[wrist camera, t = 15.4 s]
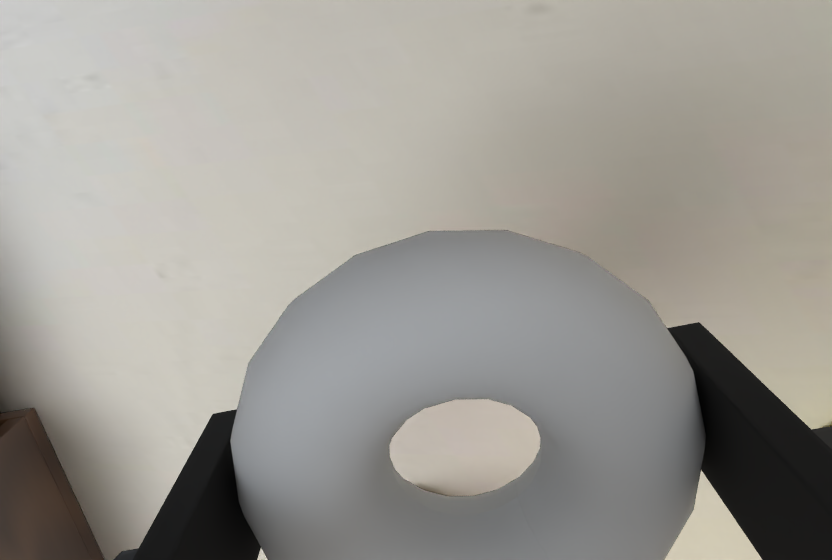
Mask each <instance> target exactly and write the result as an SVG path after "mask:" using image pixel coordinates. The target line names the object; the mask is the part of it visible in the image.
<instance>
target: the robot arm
mask: <svg viewBox="0 0 832 560" xmlns="http://www.w3.org/2000/svg"><path fill="white" fill-rule="evenodd" d="M667 329H668V331H669V332H670V334H671V335H672V337H673V338H674V340H675V341H676V343H677V344H678V346H679V347H680V349H681V350H682V352H683V353H684V355H685V356H686V358H687V360H688V362H689V364H690V366H691V368H692V370H693V372H694V377H695V382H696V387H697V392H698V397H699V402H700V407H701V412H702V417H703V422H704V427H705V432H706V439H705V450H704V455H703V461H702V466H701V470H702V471H703V473H704V474H705V476H706V477H707V479H708V480H709V482H710V483H711V485H712V486H713V488H714V489H715V490H716V492H717V493H718V495H719V496H720V498H721V499H722V501H723V502H724V504H725V505H726V507H727V508H728V510H729V511H730V512H731V514H732V515H733V517H734V518H735V520H736V521H737V523H738V524H739V526H740V527H741V529H742V530H743V532H744V533H745V534H746V536H747V537H748V539H749V540H750V542H751V543H752V545H753V546H754V548H755V549H756V551H757V552H758V554H759V555H760V556H761V558H762V559H763V560H832V426H830V427H824V428H818V429H812V430H811V429H810V428H809V427H808V426H807V425H806V424H805V423H804V422H803V421H802V420H801V419H800V418H799V417H797V416H796V415H795V414H794V413H793V412H792V411H791V410H790V409H789V408H788V407H787V406H786V405H785V404H784V403H783V402H782V401H781V400H780V399H779V398H778V397H777V396H776V395H775V394H773V393H772V392H771V391H770V390H769V389H768V388H767V387H766V386H765V385H764V384H763V383H762V382H761V381H760V380H759V379H758V378H757V377H756V376H755V375H754V374H753V373H752V372H751V371H750V370H748V369H747V368H746V367H745V366H744V365H743V364H742V363H741V362H740V361H739V360H738V359H737V358H736V357H735V356H734V355H733V354H732V353H731V352H730V351H729V350H728V349H727V348H726V347H724V346H723V345H722V344H721V343H720V342H719V341H718V340H717V339H716V338H715V337H714V336H713V335H712V334H711V333H710V332H709V331H708V330H707V329H706V328H705V327H704V326H703V325H702V324H700V323H699V322H698V323H693V324H687V325H682V326H677V327H671V328H667ZM236 412H237V410H231V411H226V412H221V413H216V414H213V415H212V416H211V418H210V420H209V422H208V424H207V425H206V427H205V429H204V431H203V433H202V435H201V436H200V438H199V440H198V442H197V444H196V445H195V447H194V449H193V451H192V453H191V455H190V456H189V458H188V460H187V462H186V464H185V465H184V467H183V469H182V471H181V473H180V474H179V476H178V478H177V480H176V482H175V484H174V485H173V487H172V489H171V491H170V493H169V494H168V496H167V498H166V500H165V502H164V504H163V505H162V507H161V509H160V511H159V513H158V514H157V516H156V518H155V520H154V522H153V523H152V525H151V527H150V529H149V531H148V533H147V534H146V536H145V538H144V540H143V542H142V543H141V545H140V547H139V548H138V549H133V550H127V551H122V552H121V553H120V554H119V555H118V556H117V557H116V558H115V559H114V560H257V558H258V555H259V552H260V548H261V546H260V544H259V542H258V540H257V539H256V537H255V535H254V533H253V531H252V530H251V528H250V526H249V524H248V522H247V520H246V519H245V517H244V514H243V512H242V509H241V506H240V504H239V499H238V492H237V485H236V478H235V471H234V464H233V457H232V449H231V442H230V440H231V434H232V429H233V424H234V420H235V416H236Z"/></svg>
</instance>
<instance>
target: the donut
mask: <svg viewBox="0 0 832 560" xmlns="http://www.w3.org/2000/svg"><path fill="white" fill-rule="evenodd" d="M455 399H490V400H493V401H497V402H501V403H504V404H508V405H511V406H513V407H515V408H516V409H518V410H519V411H521V412H522V413H524V414H526V415H527V416H529V417H530V418H531V419H532V420H533V422H534V423H535V424H536V425H537V427H538V430H539V434H540V437H541V439H540V449H539V452H538V454H537V456H536V458H535V460H534V462H533V463H532V464H531V465H530V466H529V467H528V468H527V469H526V470H525V471H524V472H523V474H522V475H521V476H520V477H518V478H516V479H515V480H513V481H511V482H510V483H508V484H506V485H505V486H503V487H501V488H499V489H497V490H494V491H490V492H486V493H483V494H479V495H475V496H445V495H441V494H437V493H433V492H429V491H425V490H422V489H421V488H419V487H417V486H415V485H414V484H412V483H410V482H409V481H407V480H405V479H403V478H402V477H401V475H400V474H399V473H398V472H397V471H396V470H395V468H394V466H393V463H392V461H391V459H390V454H389V445H390V442H391V439H392V437H393V436H394V435H395V433H396V432H397V431H398V430H399V428H400V427H401V426H402V425H403V424H404V422H405V421H406V420H407V419H409V418H410V417H412V416H413V415H415V414H416V413H418V412H420V411H421V410H423V409H424V408H428V407H431V406H435V405H438V404H441V403H445V402H448V401H452V400H455ZM705 439H706V432H705V427H704V422H703V417H702V412H701V407H700V402H699V397H698V392H697V387H696V382H695V377H694V372H693V370H692V368H691V366H690V364H689V362H688V360H687V358H686V356H685V355H684V353H683V352H682V350H681V349H680V347H679V346H678V344H677V343H676V341H675V340H674V338H673V337H672V335H671V334H670V332H669V331H668V329H667V328H666V326H665V324H664V323H663V321H662V320H661V318H660V317H659V315H658V314H657V312H656V311H655V309H654V308H653V306H652V305H651V303H650V302H649V300H647V299H646V298H644V297H643V296H642V295H640V294H639V293H638V292H636V291H635V290H633V289H632V288H631V287H629V286H628V285H627V284H625V283H624V282H622V281H621V280H620V279H618V278H617V277H615V276H614V275H613V274H611V273H610V272H609V271H607V270H606V269H604V268H603V267H602V266H600V265H599V264H598V263H596V262H595V261H593V260H592V259H591V258H589V257H588V256H586V255H584V254H582V253H580V252H577V251H573V250H570V249H567V248H564V247H560V246H557V245H554V244H551V243H547V242H544V241H541V240H537V239H534V238H531V237H528V236H524V235H521V234H518V233H515V232H511V231H508V230H479V231H427V232H424V233H421V234H418V235H415V236H412V237H409V238H406V239H403V240H400V241H397V242H394V243H391V244H388V245H384V246H381V247H378V248H375V249H372V250H369V251H366V252H363V253H360V254H357V255H355V256H353V257H352V258H350V259H349V260H348V261H346V262H345V263H344V264H342V265H341V266H339V267H338V268H337V269H335V270H334V271H333V272H331V273H330V274H328V275H327V276H326V277H324V278H323V279H322V280H320V281H319V282H317V283H316V284H315V285H313V286H312V287H311V288H309V289H308V290H306V291H305V292H304V293H302V294H301V295H300V296H298V297H297V298H296V299H295V300H293V301H292V302H291V303H290V304H289V305H288V306H287V308H286V309H285V311H284V312H283V314H282V315H281V317H280V318H279V320H278V321H277V322H276V324H275V325H274V327H273V328H272V330H271V331H270V333H269V334H268V335H267V337H266V338H265V340H264V341H263V343H262V344H261V346H260V347H259V349H258V350H257V351H256V353H255V354H254V356H253V357H252V359H251V360H250V362H249V363H248V367H247V371H246V375H245V379H244V383H243V388H242V392H241V396H240V400H239V404H238V408H237V412H236V416H235V420H234V424H233V429H232V434H231V440H230V442H231V449H232V457H233V464H234V471H235V478H236V485H237V492H238V499H239V504H240V506H241V509H242V512H243V514H244V517H245V519H246V520H247V522H248V524H249V526H250V528H251V530H252V531H253V533H254V535H255V537H256V539H257V540H258V542H259V544H260V546H261V548H262V550H263V551H264V553H265V555H266V557H267V559H268V560H664V559H665V558H666V556H667V554H668V552H669V551H670V549H671V547H672V546H673V544H674V542H675V540H676V539H677V537H678V535H679V534H680V532H681V530H682V529H683V527H684V525H685V523H686V522H687V520H688V518H689V517H690V515H691V513H692V511H693V509H694V504H695V499H696V493H697V488H698V482H699V477H700V472H701V466H702V461H703V455H704V450H705Z"/></svg>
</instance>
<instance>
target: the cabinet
mask: <svg viewBox="0 0 832 560" xmlns="http://www.w3.org/2000/svg"><path fill="white" fill-rule="evenodd" d="M0 560H104V558H103V556H102V554H101V551H100V549H99V547H98V545H97V543H96V541H95V538H94V536H93V534H92V532H91V530H90V528H89V526H88V523H87V521H86V519H85V517H84V515H83V513H82V510H81V508H80V506H79V504H78V502H77V500H76V497H75V495H74V493H73V491H72V489H71V487H70V485H69V482H68V480H67V478H66V476H65V474H64V472H63V469H62V467H61V465H60V463H59V461H58V459H57V457H56V454H55V452H54V450H53V448H52V446H51V444H50V441H49V439H48V437H47V435H46V433H45V431H44V428H43V426H42V424H41V422H40V420H39V418H38V416H37V413H36V411H35V409H34V408H30V409H24V410H18V411H12V412H6V413H0Z"/></svg>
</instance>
